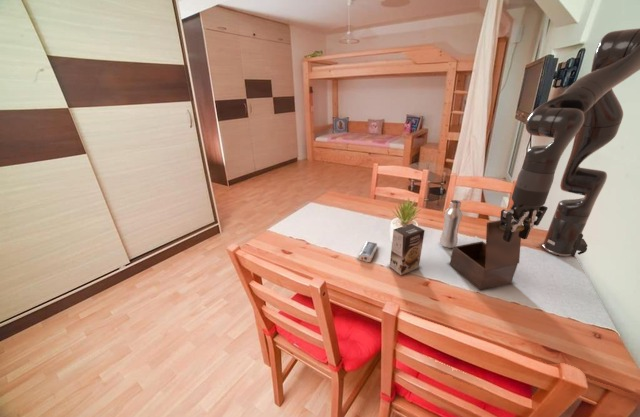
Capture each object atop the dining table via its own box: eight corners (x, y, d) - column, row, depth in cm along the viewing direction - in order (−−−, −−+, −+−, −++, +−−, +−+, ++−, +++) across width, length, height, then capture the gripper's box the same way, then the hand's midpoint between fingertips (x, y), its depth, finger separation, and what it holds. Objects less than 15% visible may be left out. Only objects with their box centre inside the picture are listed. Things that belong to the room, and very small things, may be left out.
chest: (449, 264, 98) (453, 246, 95) (477, 258, 101) (482, 241, 98) (480, 290, 86) (485, 270, 82) (511, 282, 88) (517, 263, 85)
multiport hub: (377, 248, 110) (377, 243, 109) (370, 262, 101) (370, 257, 100) (366, 245, 112) (367, 241, 111) (359, 259, 103) (359, 255, 102)
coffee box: (401, 275, 93) (405, 237, 87) (389, 266, 99) (392, 228, 92) (419, 267, 97) (425, 230, 90) (407, 259, 102) (411, 222, 96)
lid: (486, 222, 79) (500, 226, 75) (520, 216, 82) (535, 219, 78) (484, 269, 82) (498, 275, 78) (517, 262, 85) (531, 268, 81)
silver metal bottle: (458, 250, 106) (467, 205, 98) (440, 249, 108) (448, 204, 99) (454, 242, 112) (463, 199, 104) (437, 241, 113) (444, 198, 105)
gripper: (523, 193, 66) (505, 250, 73) (567, 187, 69) (546, 242, 76) (498, 184, 73) (484, 236, 80) (539, 178, 76) (522, 229, 83)
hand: (514, 239), depth 78 cm, fingers closed on lid, 5 cm apart
